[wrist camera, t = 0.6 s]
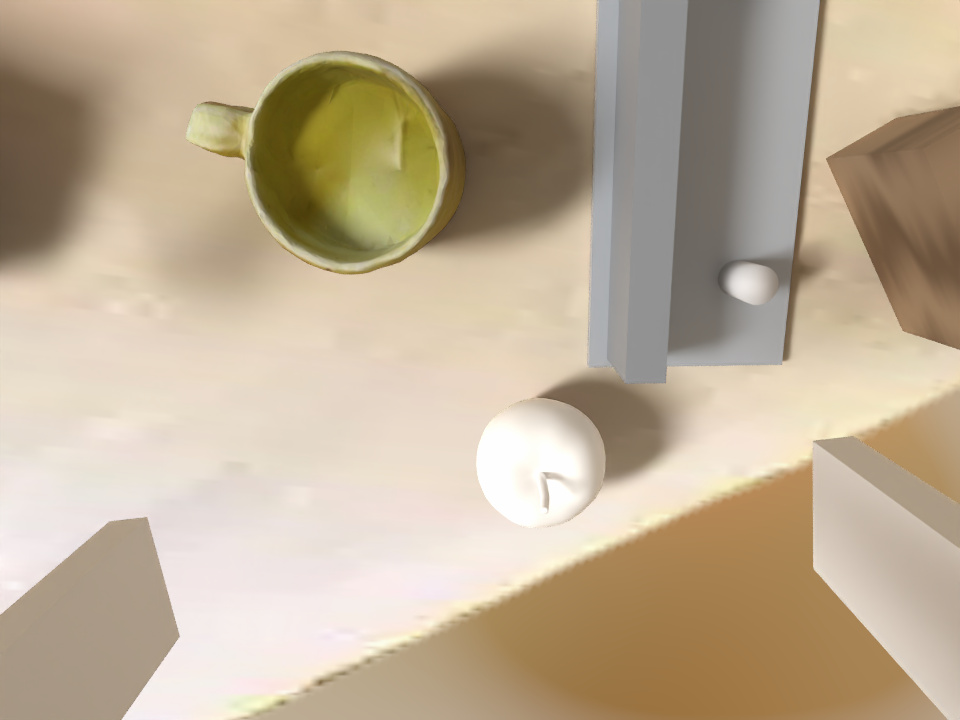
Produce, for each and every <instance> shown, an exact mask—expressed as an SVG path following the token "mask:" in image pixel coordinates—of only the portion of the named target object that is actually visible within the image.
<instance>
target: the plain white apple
mask: <svg viewBox="0 0 960 720" xmlns="http://www.w3.org/2000/svg"><path fill="white" fill-rule="evenodd" d="M605 462H606V455H605V449H604V443H603V440H602V438H601V436H600V433H599V431H598V429H597V428H596V427H595V425H594V424H593V422H592V421H591V420H590V419H589V418H588V417H587V416H586V415H585V414H583V413H582V412H581V411H580V410H578V409H576V408H575V407H573V406H571V405H569V404H566V403H563V402H560V401H557V400H552V399H547V398H531V399H527V400H523V401H520V402H518V403H515V404H513V405H511V406H509V407H508V408H506V409H504V410H503V411H501V412H500V413H498V414H497V415H496V416H495V417H494V418H493V419H492V420H491V421H490V423H489V424H488V426H487V427H486V429H485V431H484V432H483V435H482V438H481V440H480V443H479V446H478V452H477V473H478V478H479V482H480V485H481V487H482V490H483V492H484V494H485V496H486V498H487V499H488V500H489V502H490V503H491V504H492V505H493V507H494V508H495V509H497V510H498V511H499V512H500V513H501V514H502V515H504V516H505V517H507V518H508V519H509V520H511V521H512V522H514V523H517V524H519V525H521V526H523V527H528V528H544V527H551V526H555V525H559V524H562V523H564V522H567V521H569V520H571V519H573V518H574V517H576V516H577V515H578V514H580V513H581V512H582V511H583V510H584V509H585V508H586V507H587V506H589V505H590V503H591V502H592V501H593V500H594V499H595V498H596V496H597V495H598V493H599V491H600V489H601V487H602V484H603V480H604V475H605Z"/></svg>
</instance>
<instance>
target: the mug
mask: <svg viewBox="0 0 960 720" xmlns="http://www.w3.org/2000/svg"><path fill="white" fill-rule="evenodd" d="M186 139H187V140H188V141H189V142H191V143H192V144H195V145H197V146H200V147H202V148H203V149H206V150H208V151H210V152H214V153H217V154H219V155H222V156H226V157H239V158H242V159H244V160H245V180H246V184H247V188H248V192H249V196H250V199H251V201H252V203H253V205H254V208H255V210H256V212H257V214H258V216H259V218H260V220H261V221H262V223H263V225H264V226H265V227H266V228H267V230H268V231H269V232H270V234H271V235H272V236H273V237H274V238H275V239H276V241H277V242H278V243H279V244H280V245H281V246H282V247H283V248H284V249H286V250H287V251H289V252H290V253H292V254H293V255H295V256H296V257H298V258H299V259H301V260H302V261H304V262H306V263H308V264H310V265H313V266H315V267H318V268H321V269H323V270H327V271H331V272H335V273H339V274H363V273H368V272H371V271H374V270H377V269H379V268H382V267H386V266H390V265H393V264H396V263H398V262H401V261H403V260H404V259H405V258H407V257H409V256H410V255H412V254H414V253H415V252H417V251H418V250H419V249H421V248H422V247H423V246H424V245H425V244H427V243H428V242H429V241H430V240H432V239H433V238H434V237H435V236H436V235H437V234H438V233H439V232H440V231H441V230H442V229H443V228H444V227H445V226H446V225H447V224H448V222H449V221H450V219H451V218H452V216H453V215H454V213H455V211H456V210H457V207H458V205H459V202H460V200H461V197H462V194H463V189H464V183H465V172H466V160H465V153H464V149H463V145H462V142H461V139H460V136H459V133H458V131H457V129H456V127H455V125H454V123H453V122H452V120H451V119H450V117H449V116H448V115H447V114H446V113H445V112H444V111H443V110H442V109H441V107H440V106H439V104H438V103H437V102H436V100H435V99H434V98H433V97H432V95H431V94H430V93H429V91H428V90H427V89H426V88H425V87H424V86H423V85H422V84H420V83H419V82H418V81H417V80H416V79H415V78H414V77H412V76H411V75H410V74H408V73H407V72H405V71H404V70H402V69H401V68H399V67H398V66H396V65H394V64H392V63H390V62H388V61H385V60H383V59H381V58H378V57H375V56H372V55H368V54H362V53H355V52H349V51H332V52H324V53H319V54H315V55H312V56H310V57H307V58H305V59H303V60H300V61H298V62H296V63H295V64H293V65H291V66H289V67H287V68H285V69H284V70H282V71H281V72H280V73H279V74H278V75H277V76H276V77H275V78H273V80H272V81H271V82H270V83H269V84H268V85H267V86H266V88H265V90H264V92H263V93H262V95H261V97H260V99H259V101H258V103H257V105H256V107H255V109H253V108H248V107H243V106H230V105H226V104H222V103H217V102H204V103H201V104H199V105H197V106H196V107H195V109H194V110H193V112H192V115H191V118H190V122H189V125H188V128H187V133H186Z"/></svg>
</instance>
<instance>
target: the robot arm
mask: <svg viewBox="0 0 960 720" xmlns="http://www.w3.org/2000/svg"><path fill="white" fill-rule="evenodd" d="M813 568H814V570H815V571H816V572H817V573H818V574H819V575H820V576H821V578H822V579H823V580H824V581H825V582H826V583H827V584H828V585H829V587H830V588H831V589H832V590H833V591H834V592H835V593H836V594H837V595H838V597H839V598H840V599H841V600H842V601H843V602H844V603H845V605H846V606H847V607H848V608H849V609H850V610H851V611H852V612H853V614H854V615H855V616H856V617H857V618H858V619H859V620H860V621H861V622H862V624H863V625H864V626H865V627H866V628H867V629H868V630H869V631H870V633H871V634H872V635H873V636H874V637H875V638H876V639H877V640H878V642H879V643H880V644H881V645H882V646H883V647H884V648H885V649H886V650H887V652H888V653H889V654H890V655H891V656H892V657H893V658H894V660H895V661H896V662H897V663H898V664H899V665H900V666H901V667H902V668H903V670H904V671H905V672H906V673H907V674H908V675H909V676H910V677H911V679H912V680H913V681H914V682H915V683H916V684H917V685H918V686H919V687H920V689H922V691H923V692H924V693H925V694H926V695H927V697H928V698H929V699H930V700H931V701H932V702H933V703H934V704H935V706H936V707H937V708H938V709H939V710H940V711H941V712H942V713H943V714H944V716H945V717H946V718H947V719H948V720H960V504H958V503H957V502H955V501H953V500H952V499H950V498H949V497H947V496H946V495H944V494H942V493H941V492H939V491H938V490H936V489H935V488H933V487H931V486H930V485H929V484H927V483H925V482H924V481H922V480H921V479H919V478H917V477H916V476H915V475H913V474H911V473H910V472H908V471H907V470H905V469H903V468H902V467H900V466H899V465H897V464H896V463H894V462H893V461H891V460H890V459H888V458H886V457H885V456H883V455H882V454H880V453H878V452H877V451H875V450H874V449H872V448H870V447H869V446H868V445H866V444H865V443H863V442H861V441H860V440H858V439H857V438H855V437H854V436H851V437H842V438H834V439H825V440H816V441H813ZM179 637H180V636H179V632H178V628H177V625H176V621H175V617H174V614H173V610H172V606H171V603H170V599H169V596H168V592H167V588H166V585H165V581H164V577H163V574H162V570H161V566H160V563H159V559H158V555H157V552H156V548H155V544H154V541H153V537H152V533H151V530H150V526H149V523H148V519H147V517H145V518H136V519H127V520H119V521H110V522H109V523H107V524H106V525H105V526H104V527H103V528H102V529H100V530H99V531H98V532H97V533H96V534H95V535H93V536H92V537H91V538H90V539H89V540H88V541H86V542H85V543H84V544H83V545H82V546H81V547H79V548H78V549H77V550H76V551H75V552H74V553H72V554H71V555H70V556H69V557H68V558H66V559H65V560H64V561H63V562H62V563H61V564H59V565H58V566H57V567H56V568H55V569H54V570H52V571H51V572H50V573H49V574H48V575H47V576H45V577H44V578H43V579H42V580H41V581H40V582H38V583H37V584H36V585H35V586H34V587H33V588H31V589H30V590H29V591H28V592H27V593H25V594H24V595H23V596H22V597H21V598H20V599H18V600H17V601H16V602H15V603H14V604H13V605H11V606H10V607H9V608H8V609H7V610H6V611H4V612H3V613H2V614H1V615H0V720H121V719H122V718H123V717H124V715H125V714H126V712H127V711H128V709H129V708H130V707H131V705H132V704H133V702H134V701H135V699H136V698H137V697H138V695H139V694H140V692H141V691H142V689H143V688H144V687H145V685H146V684H147V682H148V681H149V679H150V678H151V677H152V675H153V674H154V672H155V671H156V670H157V668H158V667H159V665H160V664H161V662H162V661H163V660H164V658H165V657H166V655H167V654H168V652H169V651H170V650H171V648H172V647H173V645H174V644H175V642H176V641H177V640H178V638H179Z"/></svg>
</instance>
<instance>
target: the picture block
mask: <svg viewBox="0 0 960 720" xmlns="http://www.w3.org/2000/svg"><path fill="white" fill-rule="evenodd" d="M826 160H827V162H828V164H829V167H830V169H831V171H832V173H833V176H834V178H835V180H836V182H837V185H838V187H839V189H840V191H841V193H842V196H843V198H844V200H845V202H846V205H847V207H848V209H849V211H850V214H851V216H852V218H853V220H854V223H855V225H856V227H857V229H858V232H859V234H860V236H861V238H862V241H863V243H864V245H865V247H866V249H867V252H868V254H869V256H870V258H871V261H872V263H873V265H874V267H875V270H876V272H877V274H878V276H879V279H880V281H881V283H882V285H883V288H884V290H885V292H886V294H887V297H888V299H889V301H890V303H891V306H892V308H893V310H894V312H895V314H896V317H897V319H898V321H899V323H900V326H901V328H902V330H903V331H905V332H908V333H911V334H914V335H917V336H920V337H923V338H926V339H929V340H932V341H935V342H938V343H941V344H944V345H947V346H950V347H953V348H956V349H959V350H960V106H959V107H954V108H948V109H943V110H938V111H932V112H927V113H921V114H916V115H910V116H905V117H900V118H896V119H894V120H892V121H890V122H889V123H887V124H885V125H884V126H882V127H880V128H878V129H877V130H875V131H873V132H871V133H870V134H868V135H866V136H864V137H863V138H861V139H859V140H858V141H856V142H854V143H852V144H851V145H849V146H847V147H845V148H844V149H842V150H840V151H839V152H837V153H835V154H833V155H832V156H830V157H828V158H826Z"/></svg>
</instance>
